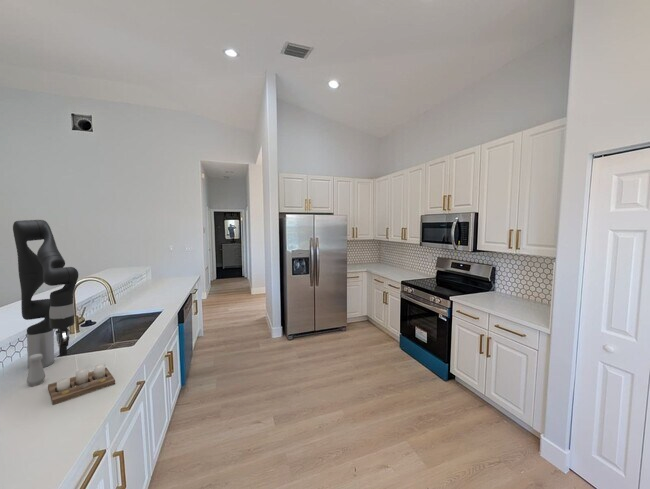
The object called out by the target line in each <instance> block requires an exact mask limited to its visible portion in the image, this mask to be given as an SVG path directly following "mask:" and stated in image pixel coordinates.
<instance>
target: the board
mask: <svg viewBox="0 0 650 489" xmlns="http://www.w3.org/2000/svg"><path fill="white" fill-rule="evenodd" d="M69 378H70V389H67V390H63V391H60V392H57V381H55V382H52V383H48V384H47V389H48V393H49V396H50V400H51V404H52V406H54V405H57V404H60V403H62V402H63V403H64V402H66V401H69V400H71V399H75V398H78V397H81V396H83V395H87V394H90V393H92V392H96V391H99V390H102V389H104V388H107V387H110V386H113V385H115V384H116V378H115V377H114V376H113V375H112V373H111V372H110V370H109V369H108V368H107V367H105V376H104V377H102V378H99V379H94V370H93V371H90V372H89V371H88V381H87V382H86V383H83V384H76V375H75V376H73V377H69Z"/></svg>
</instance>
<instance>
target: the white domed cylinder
mask: <svg viewBox="0 0 650 489" xmlns="http://www.w3.org/2000/svg"><path fill="white" fill-rule="evenodd" d="M70 378H71V377H64V378H61V379H59V380H57V381H56V382H57V392H60V391H63V390H67V389H70ZM57 392H56V393H57Z"/></svg>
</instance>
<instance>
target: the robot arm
mask: <svg viewBox="0 0 650 489" xmlns="http://www.w3.org/2000/svg"><path fill="white" fill-rule="evenodd" d="M12 231H13V238H14V242H15V247H16V253H17V255H16V256H17V268H18V270H17V271H18V278H19V285H20V292H21V297H20V299H21V317H22V318H23V319H24V320H27V321H29V320H31V321H32V320H36V319H37V320H39V319H42V320H41V321H40V322H37V323H35V324H33V325H29V326H28V327H26V328H27V329H26V344H27V346H26V347H27V348H26V349H27V369H29V367H30V362H29V360H28V359H29V357H30V356H31V355H34V354H42V356H43V358H42V359H41V363H42V366H43V368H46V367H49V366H51V365H53V364H55V338H54V337H55V336H54V333H55V335H56V341H57V346H58V349H59V351H58V352H59V353H58V354H59V356H60V357H64V356H67V355H68V347H69V343H70V342H69V341H70V335H71V333H70V332H71V331H70V329H69V327H72V326H74V325H75V306H74V305H75V304H74V292H75V288H76V284H77V282H78V279H79V271H78V269H77V268H76V267H74V266H67V267H65V265H66V261H65V259H64V257H63V255H62V253H61V252H60V251H59V249H58V247H57V243H56V240H55V238H54V234H53V231H52V229H51V227H50V224H49V223H48V222H47V221H46V220H44V219H28V220H27V219H26V220H24V219H23V220H16V221H14V222H13V225H12ZM41 240H43V242H42V244H41V245H40V247H39V248H38V250H37V253H35V252H34V251H32V249H31V248H30V247H29V245H28V242H31V241H41ZM44 284H45V285H47V286H50V287H53V286H60V285H61V286H62V285H63V286H62V287H61V288H59V289H57V290H56V289H55V290H54V291H51V292H50V294H49V298H44V299H34V300H32V298H33V296H34V295H35V293H36V292H37V290H39V288H40V287H41V286H42V285H44ZM54 330H55V332H54Z"/></svg>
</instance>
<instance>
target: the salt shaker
mask: <svg viewBox="0 0 650 489" xmlns="http://www.w3.org/2000/svg"><path fill="white" fill-rule="evenodd" d="M42 358H43V356H42V354H34V355H31V356H30V357H29V359H28V358H27V361H28V360H29V362H30V367H29V368H28V372H27V377H26V383H27V385H29V387H30V386H31V387H34V386H38V385H40V384H43V383H44V380H45V379H46V373H45V370H44V367H43V366H42V363H41V359H42Z"/></svg>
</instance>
